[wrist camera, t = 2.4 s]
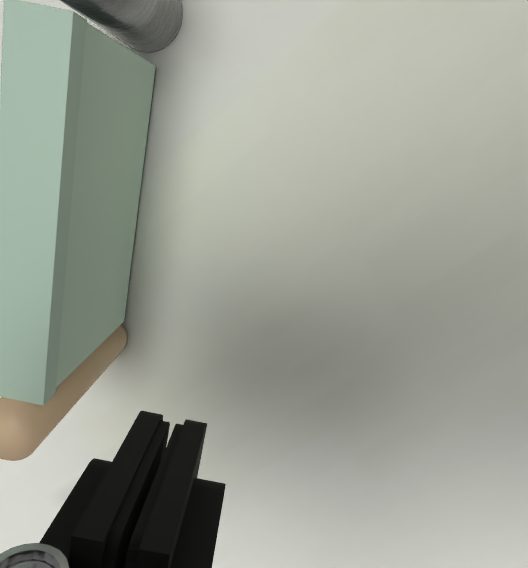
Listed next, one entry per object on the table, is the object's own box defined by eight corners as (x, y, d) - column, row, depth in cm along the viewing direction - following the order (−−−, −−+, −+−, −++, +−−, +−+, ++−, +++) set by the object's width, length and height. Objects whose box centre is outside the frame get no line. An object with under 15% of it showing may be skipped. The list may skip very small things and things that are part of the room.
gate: (114, 57, 19) (-11, -10, 11) (161, 67, 19) (69, 7, 11) (85, 351, 23) (-25, 453, 15) (124, 359, 23) (35, 466, 15)
